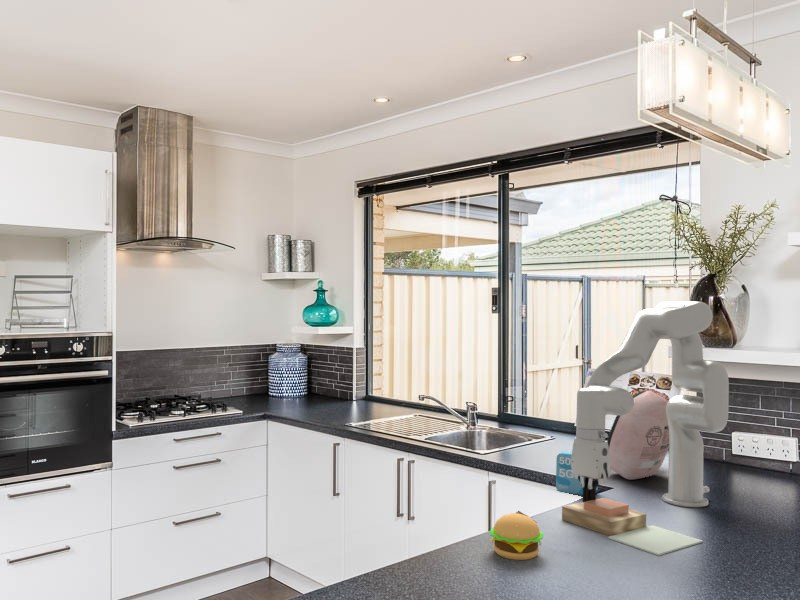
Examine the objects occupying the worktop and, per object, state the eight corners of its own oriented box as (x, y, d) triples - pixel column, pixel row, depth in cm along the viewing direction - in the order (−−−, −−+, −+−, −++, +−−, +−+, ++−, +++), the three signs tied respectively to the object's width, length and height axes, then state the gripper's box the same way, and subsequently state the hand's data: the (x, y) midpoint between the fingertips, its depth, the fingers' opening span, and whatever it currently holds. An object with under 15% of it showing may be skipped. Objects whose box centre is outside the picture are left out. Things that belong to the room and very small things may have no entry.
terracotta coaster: (603, 505, 185) (603, 497, 185) (628, 512, 179) (628, 504, 179) (583, 509, 181) (583, 501, 181) (608, 517, 174) (609, 509, 174)
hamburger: (511, 540, 165) (512, 504, 165) (553, 554, 156) (554, 516, 156) (478, 551, 157) (479, 514, 157) (521, 567, 148) (522, 526, 148)
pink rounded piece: (634, 468, 247) (636, 385, 248) (683, 480, 231) (685, 391, 232) (594, 475, 235) (596, 387, 236) (643, 488, 219) (645, 394, 219)
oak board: (596, 511, 191) (596, 499, 191) (646, 527, 178) (646, 513, 178) (561, 519, 183) (562, 506, 183) (611, 536, 170) (611, 522, 170)
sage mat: (652, 526, 179) (652, 525, 179) (702, 542, 167) (702, 540, 167) (608, 538, 168) (608, 536, 168) (658, 555, 157) (658, 553, 157)
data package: (555, 491, 212) (556, 452, 213) (558, 488, 216) (559, 450, 217) (595, 496, 207) (596, 457, 208) (597, 493, 211) (598, 454, 212)
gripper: (622, 437, 181) (621, 507, 180) (578, 429, 193) (576, 494, 193) (604, 440, 177) (602, 511, 176) (559, 431, 189) (558, 498, 188)
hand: (589, 502), depth 184 cm, fingers closed
